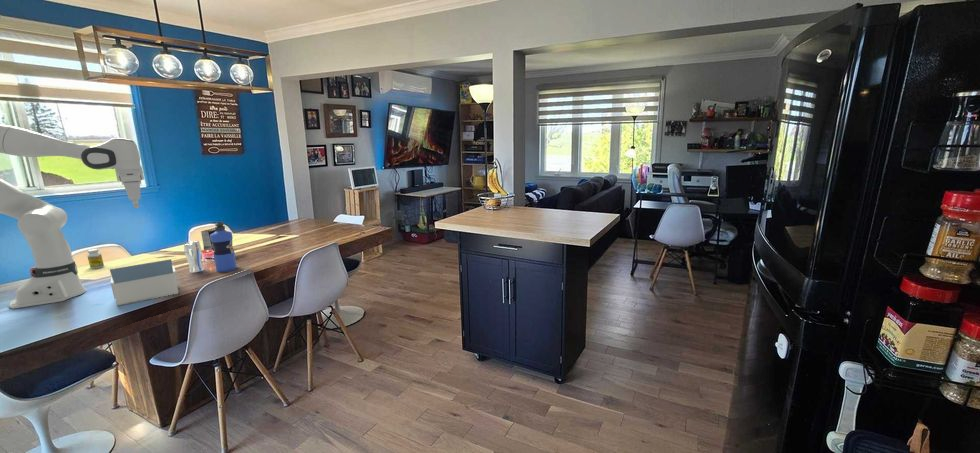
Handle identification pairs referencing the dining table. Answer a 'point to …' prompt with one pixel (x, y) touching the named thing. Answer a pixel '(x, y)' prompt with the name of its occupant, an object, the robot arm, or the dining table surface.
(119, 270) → the front flap
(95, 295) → the dining table surface
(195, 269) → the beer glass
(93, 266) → the supplement bottle
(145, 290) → the carton
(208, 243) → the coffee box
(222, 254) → the water bottle
